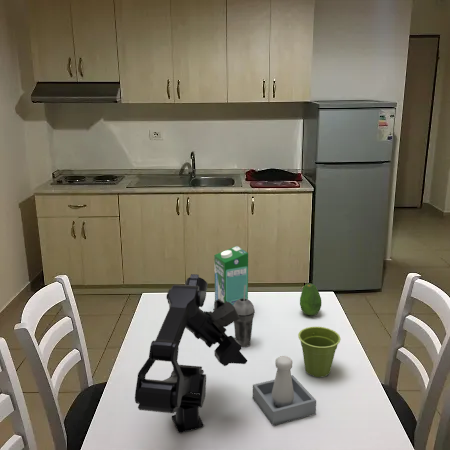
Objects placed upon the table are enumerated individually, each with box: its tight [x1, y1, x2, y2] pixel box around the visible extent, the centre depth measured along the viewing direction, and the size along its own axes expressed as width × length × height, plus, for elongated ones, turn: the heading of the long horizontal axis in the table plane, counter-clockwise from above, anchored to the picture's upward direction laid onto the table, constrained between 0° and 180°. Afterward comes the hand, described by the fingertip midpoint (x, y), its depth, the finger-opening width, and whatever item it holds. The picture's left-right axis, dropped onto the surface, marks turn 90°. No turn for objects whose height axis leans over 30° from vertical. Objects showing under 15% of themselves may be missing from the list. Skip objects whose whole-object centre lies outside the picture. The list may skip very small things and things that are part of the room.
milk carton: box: [213, 245, 249, 305], centre depth 171 cm, size 9×9×25 cm
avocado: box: [299, 283, 322, 316], centre depth 173 cm, size 8×8×12 cm
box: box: [252, 374, 317, 427], centre depth 124 cm, size 12×12×4 cm
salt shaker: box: [272, 355, 294, 408], centre depth 123 cm, size 6×6×13 cm
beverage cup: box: [233, 285, 255, 348], centre depth 153 cm, size 7×7×20 cm
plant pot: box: [297, 326, 342, 378], centre depth 138 cm, size 12×12×11 cm
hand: (238, 353), depth 124 cm, fingers open, 9 cm apart
